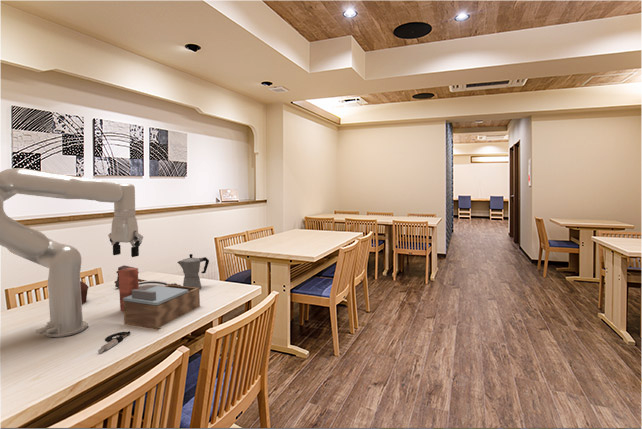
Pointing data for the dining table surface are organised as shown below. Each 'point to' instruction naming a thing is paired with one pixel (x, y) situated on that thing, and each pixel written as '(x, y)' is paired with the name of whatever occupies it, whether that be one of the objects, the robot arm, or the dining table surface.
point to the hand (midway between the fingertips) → (125, 255)
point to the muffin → (83, 291)
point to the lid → (154, 295)
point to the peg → (127, 283)
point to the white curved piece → (150, 284)
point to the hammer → (138, 279)
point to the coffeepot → (192, 270)
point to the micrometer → (113, 340)
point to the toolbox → (161, 309)
